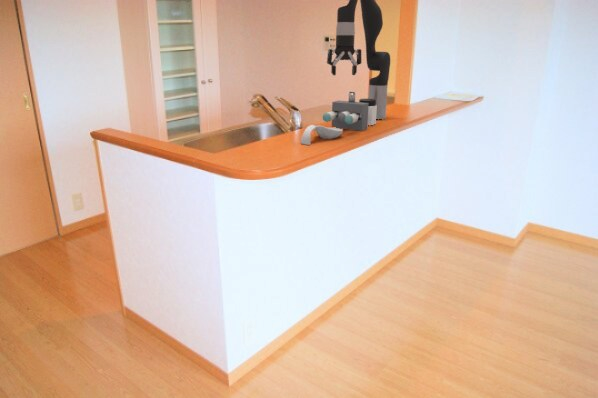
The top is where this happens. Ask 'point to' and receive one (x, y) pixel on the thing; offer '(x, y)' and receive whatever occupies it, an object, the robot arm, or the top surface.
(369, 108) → the jar
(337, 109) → the panel
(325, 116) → the knob left
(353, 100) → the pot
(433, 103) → the top surface
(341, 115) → the knob mid
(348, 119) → the knob right
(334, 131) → the spoon rest
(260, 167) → the top surface
